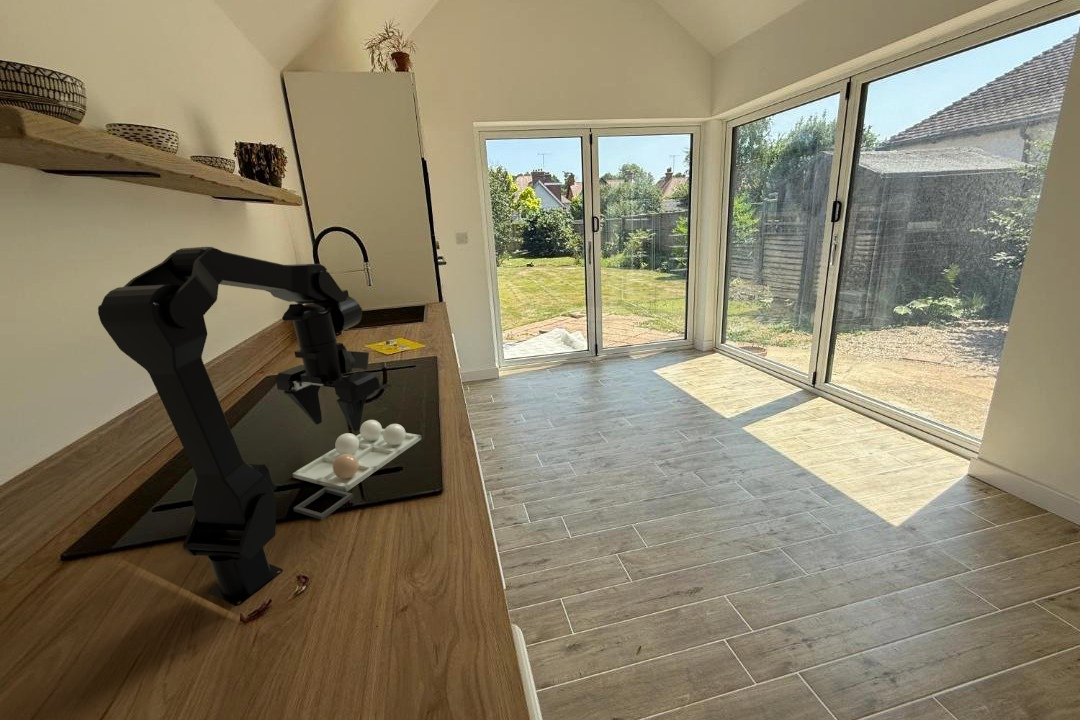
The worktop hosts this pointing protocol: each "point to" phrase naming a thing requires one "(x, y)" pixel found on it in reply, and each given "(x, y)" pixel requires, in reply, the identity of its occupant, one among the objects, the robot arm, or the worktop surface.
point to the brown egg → (345, 466)
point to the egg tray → (368, 456)
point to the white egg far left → (394, 434)
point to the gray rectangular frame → (321, 516)
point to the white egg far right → (370, 430)
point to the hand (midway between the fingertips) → (337, 426)
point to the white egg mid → (347, 444)
